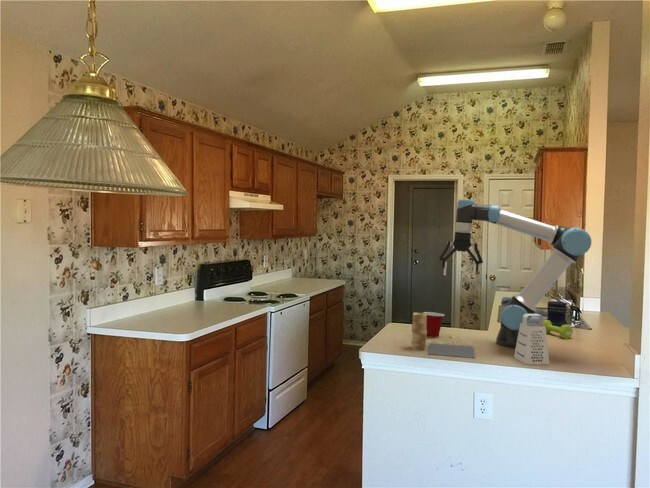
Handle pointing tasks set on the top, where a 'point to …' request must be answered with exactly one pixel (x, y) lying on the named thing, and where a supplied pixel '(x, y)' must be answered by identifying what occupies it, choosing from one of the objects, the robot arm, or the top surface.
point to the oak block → (419, 331)
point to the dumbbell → (558, 329)
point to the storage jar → (557, 313)
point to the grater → (532, 342)
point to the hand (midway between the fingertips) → (459, 276)
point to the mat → (451, 350)
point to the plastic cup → (433, 323)
